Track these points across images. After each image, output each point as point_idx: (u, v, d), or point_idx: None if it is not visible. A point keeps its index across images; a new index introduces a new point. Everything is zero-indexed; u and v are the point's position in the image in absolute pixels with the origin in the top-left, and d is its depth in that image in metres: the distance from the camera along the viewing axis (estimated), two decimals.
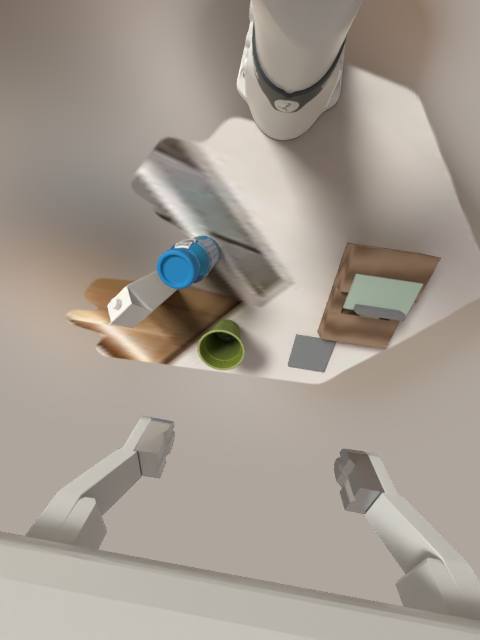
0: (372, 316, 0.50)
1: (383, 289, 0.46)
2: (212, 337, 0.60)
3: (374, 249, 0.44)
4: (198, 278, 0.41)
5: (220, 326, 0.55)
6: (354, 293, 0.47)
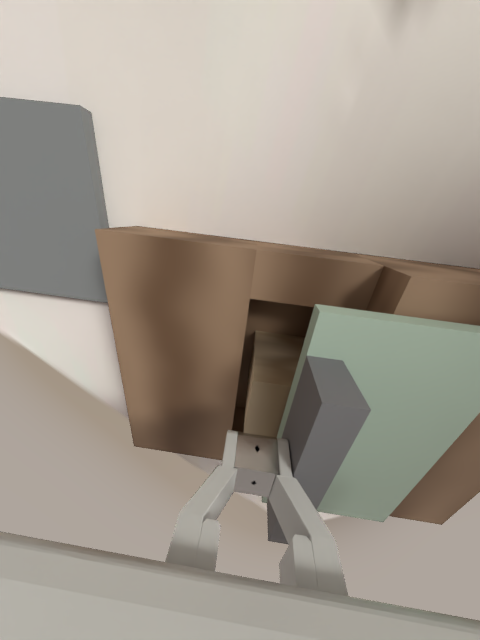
0: (253, 418, 0.12)
1: (394, 446, 0.11)
2: None
3: None
4: None
5: None
6: (411, 347, 0.08)
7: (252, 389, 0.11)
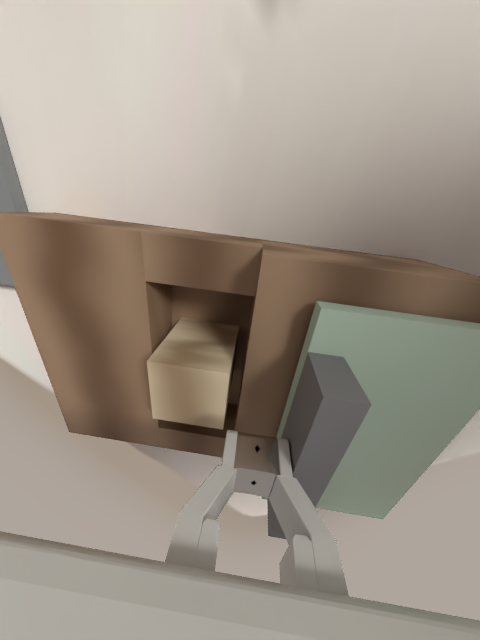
0: (157, 399, 0.13)
1: (393, 443, 0.11)
2: None
3: None
4: None
5: None
6: (411, 344, 0.08)
7: (148, 369, 0.12)
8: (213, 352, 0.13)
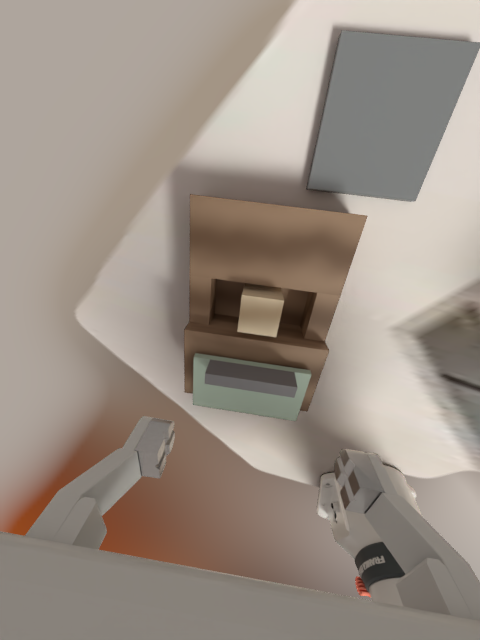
0: (257, 300, 0.22)
1: (248, 400, 0.27)
2: None
3: None
4: None
5: None
6: (295, 397, 0.26)
7: (278, 300, 0.22)
8: None
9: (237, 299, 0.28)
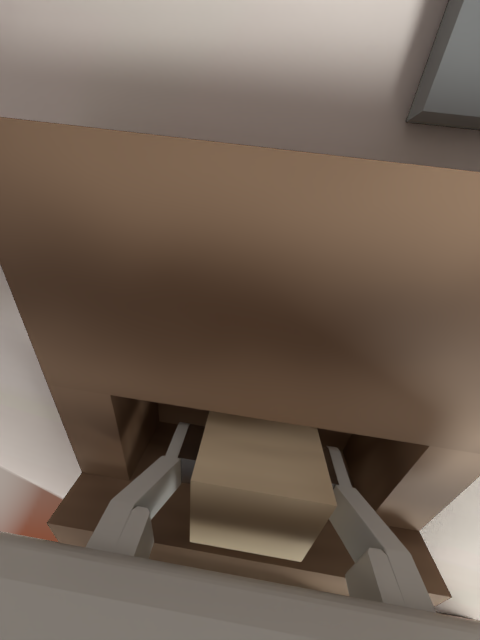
0: (243, 496, 0.07)
1: None
2: None
3: None
4: None
5: None
6: None
7: (315, 501, 0.06)
8: None
9: None
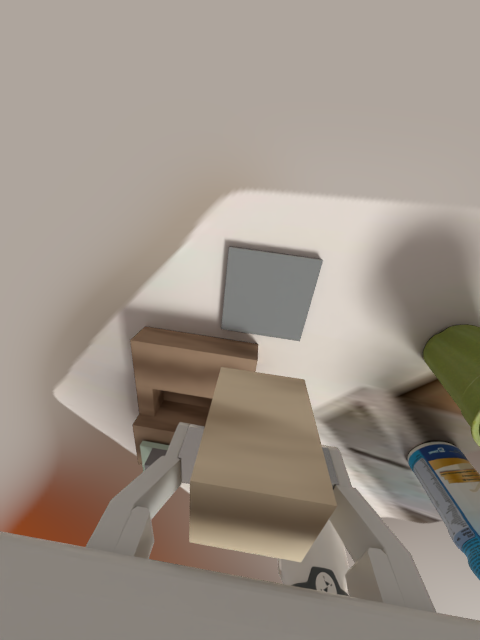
0: (243, 496, 0.07)
1: None
2: None
3: None
4: None
5: None
6: None
7: (315, 501, 0.06)
8: None
9: None
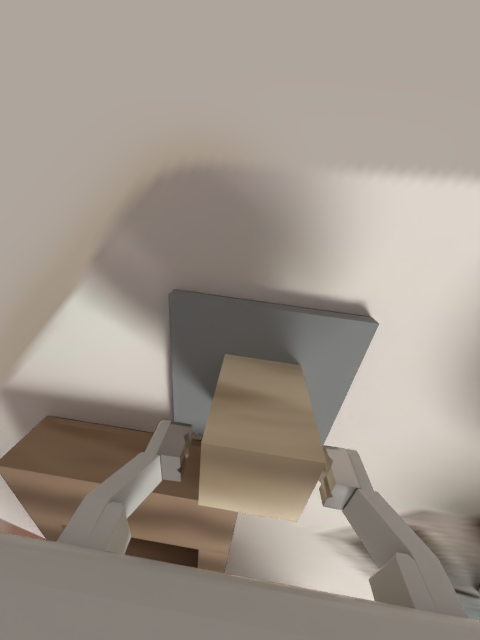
0: (246, 456, 0.08)
1: None
2: None
3: None
4: None
5: None
6: None
7: (308, 460, 0.08)
8: None
9: None
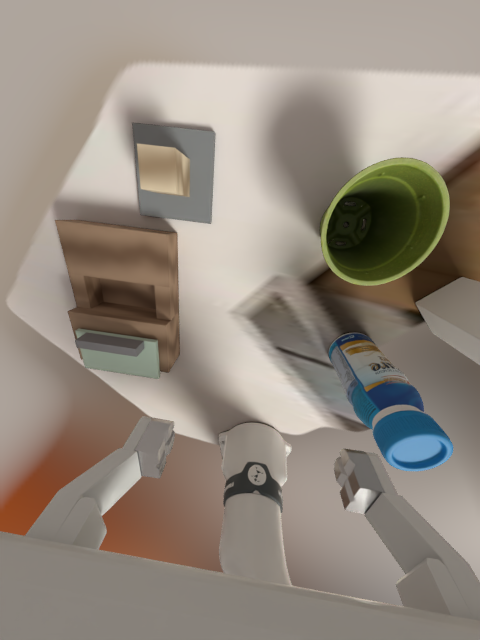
0: (151, 149, 0.24)
1: (121, 363, 0.38)
2: (384, 218, 0.28)
3: None
4: (379, 399, 0.26)
5: None
6: (151, 359, 0.37)
7: (169, 147, 0.24)
8: (180, 183, 0.27)
9: (117, 291, 0.39)
